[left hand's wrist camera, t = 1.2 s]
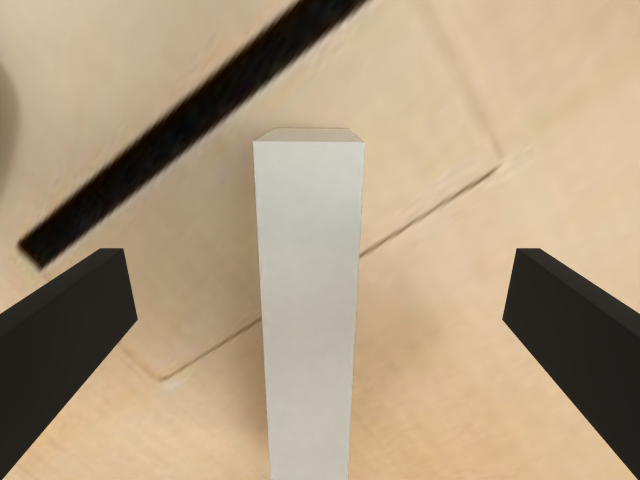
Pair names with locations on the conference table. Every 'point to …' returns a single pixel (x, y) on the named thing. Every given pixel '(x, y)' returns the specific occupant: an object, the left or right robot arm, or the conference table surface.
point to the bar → (308, 294)
